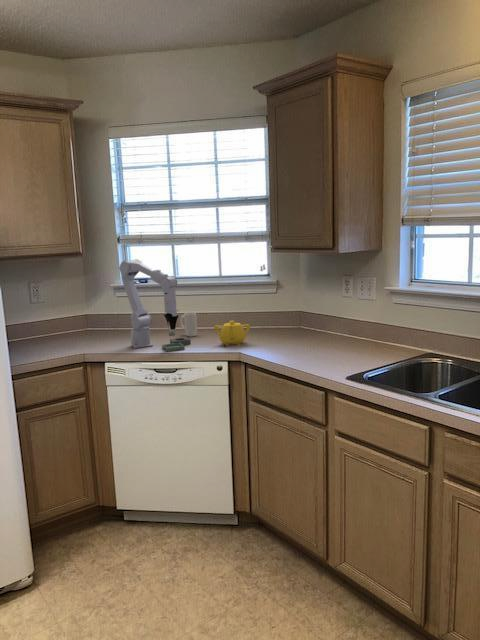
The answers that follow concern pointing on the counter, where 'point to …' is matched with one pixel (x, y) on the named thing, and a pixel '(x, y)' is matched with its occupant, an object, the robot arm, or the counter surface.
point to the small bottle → (171, 331)
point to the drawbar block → (181, 341)
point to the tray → (173, 347)
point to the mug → (189, 324)
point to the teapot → (232, 333)
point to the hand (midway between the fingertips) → (172, 328)
